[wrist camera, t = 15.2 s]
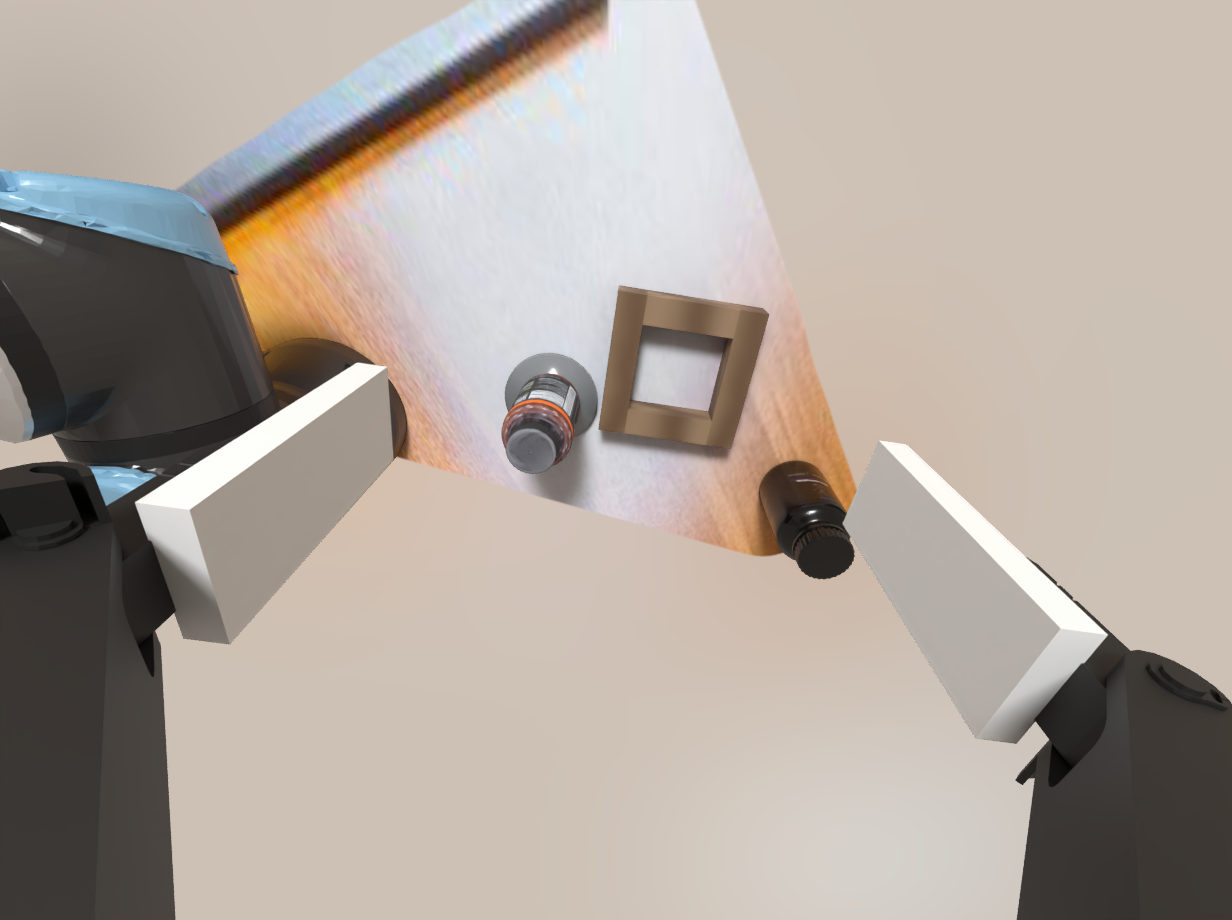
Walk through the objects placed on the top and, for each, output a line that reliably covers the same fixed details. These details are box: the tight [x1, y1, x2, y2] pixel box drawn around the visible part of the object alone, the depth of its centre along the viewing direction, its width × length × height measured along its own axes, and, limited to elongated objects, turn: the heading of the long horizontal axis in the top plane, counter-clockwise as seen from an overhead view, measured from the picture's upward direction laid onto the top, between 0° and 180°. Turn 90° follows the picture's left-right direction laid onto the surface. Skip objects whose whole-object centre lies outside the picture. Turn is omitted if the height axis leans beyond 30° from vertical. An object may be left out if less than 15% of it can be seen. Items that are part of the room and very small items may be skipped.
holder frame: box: [599, 286, 769, 449], centre depth 47 cm, size 13×13×2 cm
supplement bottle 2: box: [760, 461, 854, 579], centre depth 49 cm, size 7×7×12 cm
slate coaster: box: [505, 353, 597, 437], centre depth 50 cm, size 9×9×1 cm
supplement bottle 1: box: [502, 373, 580, 474], centre depth 45 cm, size 6×6×11 cm
